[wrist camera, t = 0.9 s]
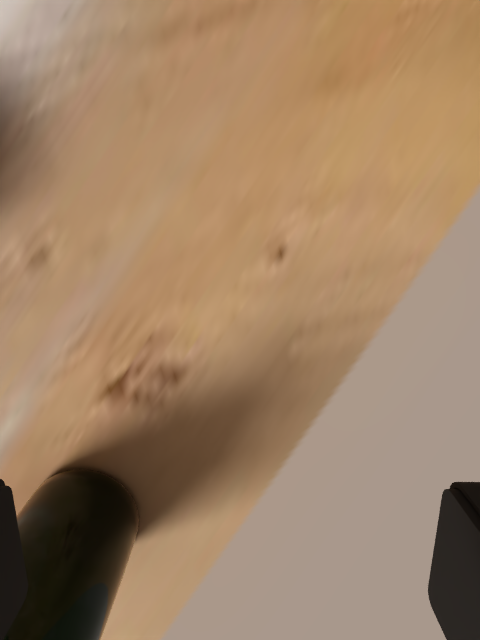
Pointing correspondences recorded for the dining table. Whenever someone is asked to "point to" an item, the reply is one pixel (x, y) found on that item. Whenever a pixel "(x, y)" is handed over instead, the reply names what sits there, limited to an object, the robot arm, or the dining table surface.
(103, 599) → the beer bottle
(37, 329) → the dining table surface
